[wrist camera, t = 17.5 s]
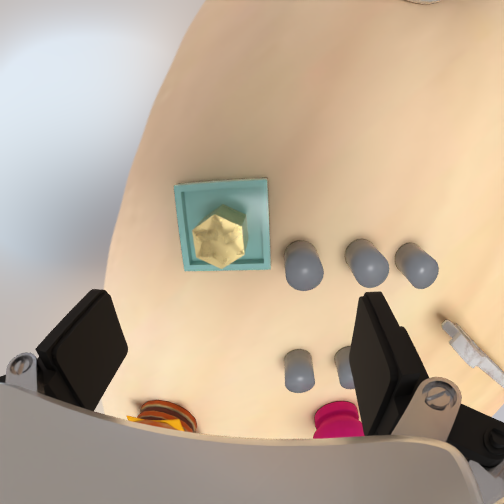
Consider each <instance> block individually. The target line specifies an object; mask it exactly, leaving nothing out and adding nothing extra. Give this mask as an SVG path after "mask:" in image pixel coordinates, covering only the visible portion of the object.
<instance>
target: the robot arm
mask: <svg viewBox="0 0 504 504" xmlns="http://www.w3.org/2000/svg"><path fill="white" fill-rule="evenodd" d="M407 1H410V2H414V3H420V4H432V3H437V2H439V1H440V0H407ZM36 351H37V353H38V355H39V358H38V359H37V358H36V356H35V355H34V354H32V353H21V354H19V355H17V356H16V357H14V358H13V359H12V360H11V361H10V362H9V364H8V366H7V371H6V375H4V376H1V377H0V504H504V423H503V422H501V421H499V420H496V419H494V418H492V417H490V416H487V415H485V414H483V413H481V412H478V411H476V410H474V409H472V408H470V407H467V406H465V405H463V404H461V399H462V396H461V392H460V390H459V388H458V387H457V386H456V385H455V384H454V383H453V382H452V381H450V380H448V379H446V378H442V377H432V378H429V376H428V374H427V372H426V370H425V368H424V366H423V363H422V361H421V359H420V357H419V355H418V353H417V351H416V349H415V347H414V345H413V343H412V341H411V339H410V337H409V335H408V333H407V331H406V329H405V328H404V327H402V326H401V327H400V326H399V324H398V322H397V320H396V318H395V317H394V315H393V313H392V311H391V309H390V307H389V305H388V303H387V301H386V299H385V297H384V296H383V294H382V292H366V293H365V294H364V296H361V297H360V298H359V301H358V308H357V314H356V320H355V326H354V332H353V337H352V343H351V348H350V353H349V364H350V368H351V372H352V377H353V382H354V386H355V391H356V396H357V401H358V406H359V411H360V416H361V421H362V426H363V432H364V435H365V436H359V437H342V438H324V439H257V438H240V437H227V436H217V435H208V434H199V433H192V432H185V431H178V430H172V429H167V428H161V427H156V426H151V425H146V424H141V423H137V422H132V421H128V420H124V419H120V418H116V417H112V416H108V415H105V414H101V413H97V412H94V410H95V408H96V406H97V405H98V403H99V401H100V399H101V398H102V396H103V394H104V392H105V391H106V389H107V387H108V385H109V384H110V382H111V380H112V378H113V377H114V375H115V373H116V372H117V370H118V368H119V367H120V365H121V363H122V362H123V360H124V358H125V357H126V355H127V352H128V346H127V343H126V340H125V338H124V335H123V332H122V329H121V326H120V323H119V320H118V318H117V314H116V311H115V308H114V305H113V302H112V299H111V296H110V295H109V294H108V293H107V292H106V291H105V290H98V289H92V290H91V291H90V292H89V293H88V294H87V295H86V296H85V297H84V298H83V299H82V300H81V301H80V302H79V303H78V304H77V305H76V306H75V307H74V308H73V309H72V310H71V311H70V312H69V313H68V314H67V315H66V316H65V317H64V318H63V319H62V321H60V323H59V324H58V325H57V326H56V327H55V328H54V329H53V330H52V331H51V332H50V333H49V334H48V336H47V337H46V338H45V339H44V340H43V341H42V342H41V343H40V344H39V345H38V347H37V348H36Z"/></svg>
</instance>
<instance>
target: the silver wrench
mask: <svg viewBox="0 0 504 504" xmlns="http://www.w3.org/2000/svg"><path fill="white" fill-rule="evenodd" d="M442 328H443V329H444V330H445V331H446V332H447V333H448V334H449V335H450V336H451V337H452V339H451V340H450V341H449V343H450V345H451V346H452V347H453V349H454V350H455V351H456V352H457V353H458V354H459V355H460V357H461V358H462V359H463V360H464V361H465V362H466V363H467V364H468V365H469V366H471V367H472V368H474V367H475V366H478V367H479V368H480V369H482V370H483V371H484V372H485V373H487V374H488V375H489V376H490V377H491V378H492V379H494V380H495V381H496V382H497V383H498V384H500V385H501V386H502V387H503V388H504V372H503V371H502V370H501V369H500V368H499V367H498V366H497V365H496V364H495V363H494V362H493V361H492V360H491V359H490V358H489V357H488V356H487V355H486V354H485V353H484V352H483V351H482V350H481V349H480V348H479V347H478V346H477V345H476V344H475V343H474V341H473V340H472V339H471V338H470V337H469V336H468V335H467V334H466V333H465V332H464V331H463V330H462V329H461V327H460V326H459V325H458V324H457V323H456V324H455V325H454V324H453V323H452V322H451V321H449V320H445V321H444V322H443V323H442Z"/></svg>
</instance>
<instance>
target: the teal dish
mask: <svg viewBox="0 0 504 504" xmlns="http://www.w3.org/2000/svg"><path fill="white" fill-rule="evenodd" d="M174 193H175V202H176V211H177V219H178V227H179V235H180V242H181V250H182V257H183V263H184V270H185V271H221V270H266V269H271V255H270V228H269V204H268V182H267V178H249V179H231V180H216V181H202V182H190V183H179V184H177V185H174ZM222 204H224V205H226V206H228V207H230V208H233V209H235V210H237V211H239V212H241V213H243V214H246V219H247V229H248V243H247V247H246V251H245V255H243V256H242V257H240V258H239V259H237V260H235V261H234V262H232V263H231V264H229V265H228V266H226V267H224V268H223V269H220V268H218V267H216V266H214V265H212V264H209V263H207V262H205V261H203V260H201V259H198V258H196V253H195V247H194V240H193V234H192V230H193V229H194V228H195V227H196V226H197V224H198V223H199V222H200V221H201V220H202V219H203V218H204V217H205V216H207V215H208V214H210V213H211V212H212V211H214V210H215V209H217V208H218V207H219V206H221V205H222Z"/></svg>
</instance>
